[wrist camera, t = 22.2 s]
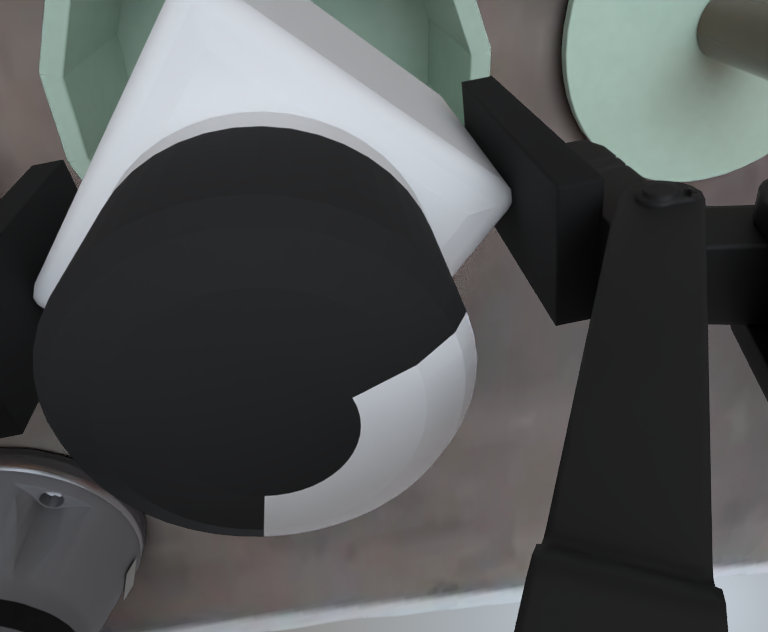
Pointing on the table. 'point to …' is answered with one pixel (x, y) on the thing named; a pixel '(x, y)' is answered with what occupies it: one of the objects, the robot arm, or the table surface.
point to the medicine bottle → (264, 276)
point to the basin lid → (670, 82)
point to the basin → (141, 9)
